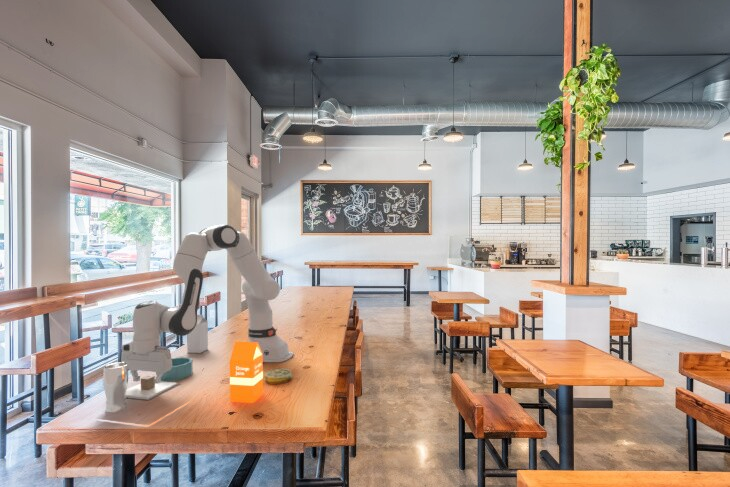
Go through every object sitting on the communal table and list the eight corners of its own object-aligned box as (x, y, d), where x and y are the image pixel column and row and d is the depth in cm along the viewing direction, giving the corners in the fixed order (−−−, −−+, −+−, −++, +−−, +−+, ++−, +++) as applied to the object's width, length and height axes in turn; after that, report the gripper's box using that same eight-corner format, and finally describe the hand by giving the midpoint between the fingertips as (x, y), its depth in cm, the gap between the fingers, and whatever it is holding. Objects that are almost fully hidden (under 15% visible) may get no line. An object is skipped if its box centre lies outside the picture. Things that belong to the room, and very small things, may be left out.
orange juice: (253, 403, 126) (252, 345, 126) (229, 401, 128) (229, 344, 128) (263, 394, 134) (262, 339, 134) (241, 392, 135) (240, 338, 136)
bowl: (198, 372, 158) (198, 358, 158) (176, 383, 146) (176, 368, 146) (173, 370, 161) (173, 356, 161) (149, 380, 149) (149, 366, 149)
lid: (177, 384, 143) (177, 372, 143) (148, 399, 129) (147, 386, 129) (147, 382, 146) (147, 370, 146) (116, 396, 132) (116, 383, 132)
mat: (181, 385, 143) (181, 383, 143) (148, 402, 128) (148, 401, 128) (147, 382, 147) (147, 380, 147) (111, 398, 132) (111, 397, 132)
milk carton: (199, 353, 186) (198, 316, 186) (187, 352, 188) (186, 316, 188) (208, 349, 193) (207, 313, 193) (196, 349, 195) (195, 313, 195)
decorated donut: (297, 379, 148) (297, 370, 148) (274, 387, 140) (274, 378, 140) (282, 373, 155) (282, 364, 155) (259, 381, 147) (259, 371, 147)
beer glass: (111, 406, 126) (111, 362, 126) (132, 405, 126) (132, 361, 126) (98, 415, 119) (98, 369, 119) (121, 414, 119) (120, 368, 119)
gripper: (176, 344, 138) (176, 381, 138) (132, 341, 143) (132, 377, 143) (163, 349, 132) (163, 387, 132) (117, 345, 137) (117, 382, 137)
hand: (146, 382), depth 137 cm, fingers open, 8 cm apart
